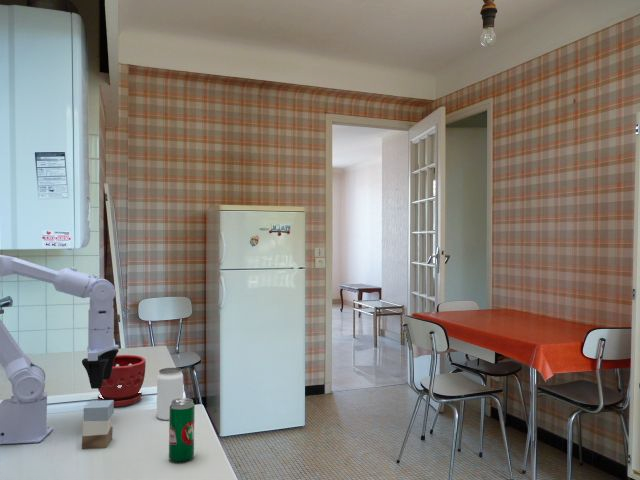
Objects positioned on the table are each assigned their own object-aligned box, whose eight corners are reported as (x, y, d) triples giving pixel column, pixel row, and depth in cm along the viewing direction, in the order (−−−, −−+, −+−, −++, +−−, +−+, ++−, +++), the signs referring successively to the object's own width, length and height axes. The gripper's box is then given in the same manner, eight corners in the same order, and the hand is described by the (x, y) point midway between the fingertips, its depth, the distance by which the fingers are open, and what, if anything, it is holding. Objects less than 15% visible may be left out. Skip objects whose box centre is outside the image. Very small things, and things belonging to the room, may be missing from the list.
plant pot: (84, 405, 135) (84, 362, 135) (120, 392, 147) (121, 352, 147) (120, 412, 130) (121, 367, 130) (154, 398, 142) (155, 357, 142)
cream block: (82, 436, 106) (82, 422, 106) (87, 427, 111) (87, 414, 111) (107, 434, 108) (107, 420, 108) (111, 426, 113) (111, 413, 113)
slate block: (83, 421, 107) (83, 408, 107) (90, 414, 112) (90, 400, 112) (107, 420, 108) (107, 407, 108) (113, 413, 112) (113, 400, 113)
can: (175, 421, 124) (175, 374, 124) (151, 419, 125) (152, 372, 125) (187, 413, 130) (187, 367, 130) (164, 411, 131) (165, 366, 131)
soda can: (167, 455, 104) (168, 398, 104) (191, 451, 106) (192, 396, 106) (170, 465, 99) (171, 406, 99) (195, 461, 101) (196, 403, 101)
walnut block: (81, 449, 107) (82, 435, 107) (89, 440, 112) (89, 427, 112) (106, 448, 107) (106, 434, 107) (112, 439, 112) (112, 426, 112)
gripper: (110, 333, 114) (110, 391, 114) (125, 322, 128) (125, 374, 128) (78, 333, 113) (77, 393, 112) (96, 323, 127) (96, 376, 127)
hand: (100, 383), depth 120 cm, fingers open, 7 cm apart
